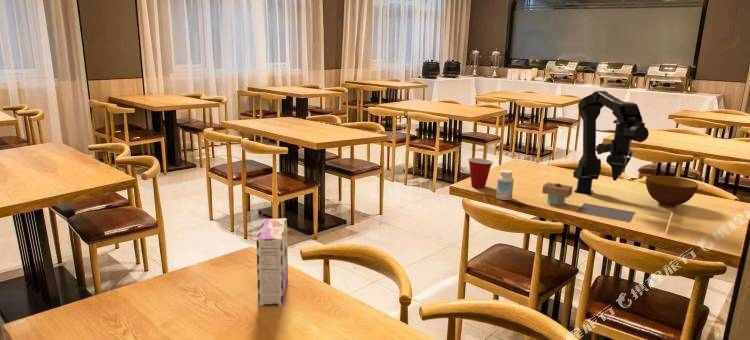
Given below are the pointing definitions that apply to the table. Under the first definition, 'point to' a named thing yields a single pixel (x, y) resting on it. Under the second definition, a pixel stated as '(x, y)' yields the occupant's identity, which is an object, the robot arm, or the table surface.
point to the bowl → (670, 190)
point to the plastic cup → (479, 171)
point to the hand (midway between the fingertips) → (616, 177)
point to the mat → (606, 212)
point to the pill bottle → (505, 185)
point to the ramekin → (556, 200)
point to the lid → (557, 189)
